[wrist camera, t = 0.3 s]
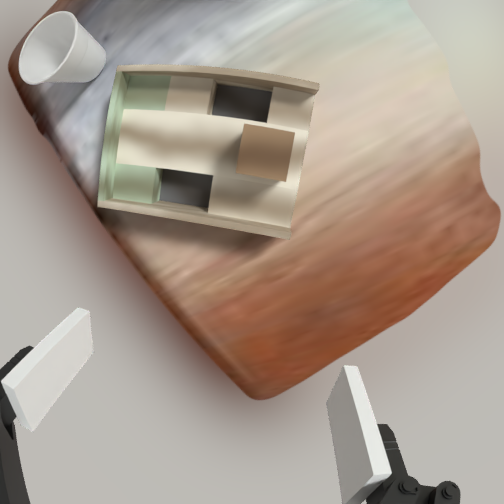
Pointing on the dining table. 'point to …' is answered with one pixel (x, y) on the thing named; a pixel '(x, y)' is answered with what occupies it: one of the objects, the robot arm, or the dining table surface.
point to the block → (265, 152)
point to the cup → (60, 52)
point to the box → (201, 145)
